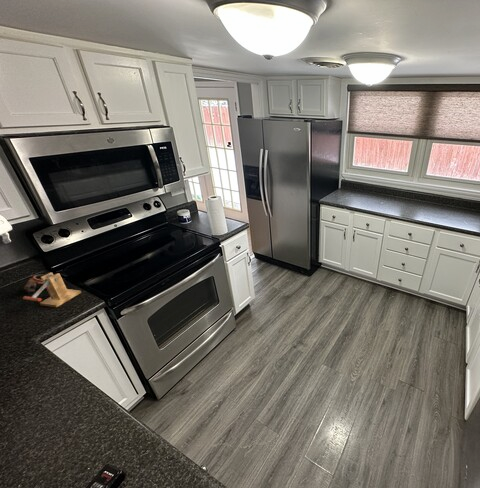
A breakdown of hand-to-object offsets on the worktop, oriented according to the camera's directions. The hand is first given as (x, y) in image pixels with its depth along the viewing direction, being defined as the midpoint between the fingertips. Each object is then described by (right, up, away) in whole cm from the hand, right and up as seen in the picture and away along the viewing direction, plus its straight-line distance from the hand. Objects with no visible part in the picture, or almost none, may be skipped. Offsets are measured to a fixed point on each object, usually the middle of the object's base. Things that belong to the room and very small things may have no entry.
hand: (1, 246), depth 116 cm
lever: (+11, -20, +7) cm, 24 cm away
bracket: (+12, -26, +15) cm, 33 cm away
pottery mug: (-6, -23, +21) cm, 32 cm away
